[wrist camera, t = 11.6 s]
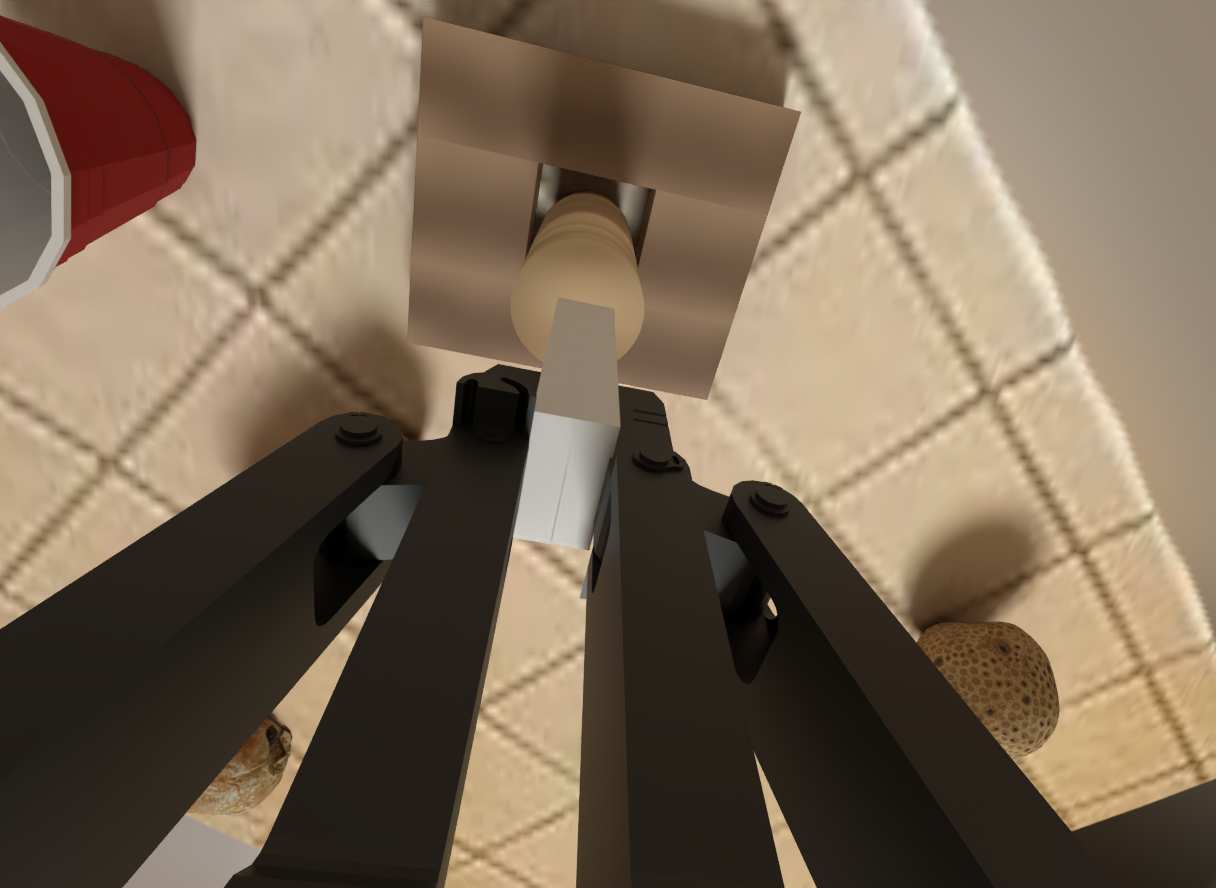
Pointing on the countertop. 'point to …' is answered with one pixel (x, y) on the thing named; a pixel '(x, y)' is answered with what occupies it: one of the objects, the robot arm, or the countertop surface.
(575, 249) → the peg
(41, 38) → the plastic cup
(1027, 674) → the natural sponge
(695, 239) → the board
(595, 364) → the robot arm
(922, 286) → the countertop surface
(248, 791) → the bread roll
